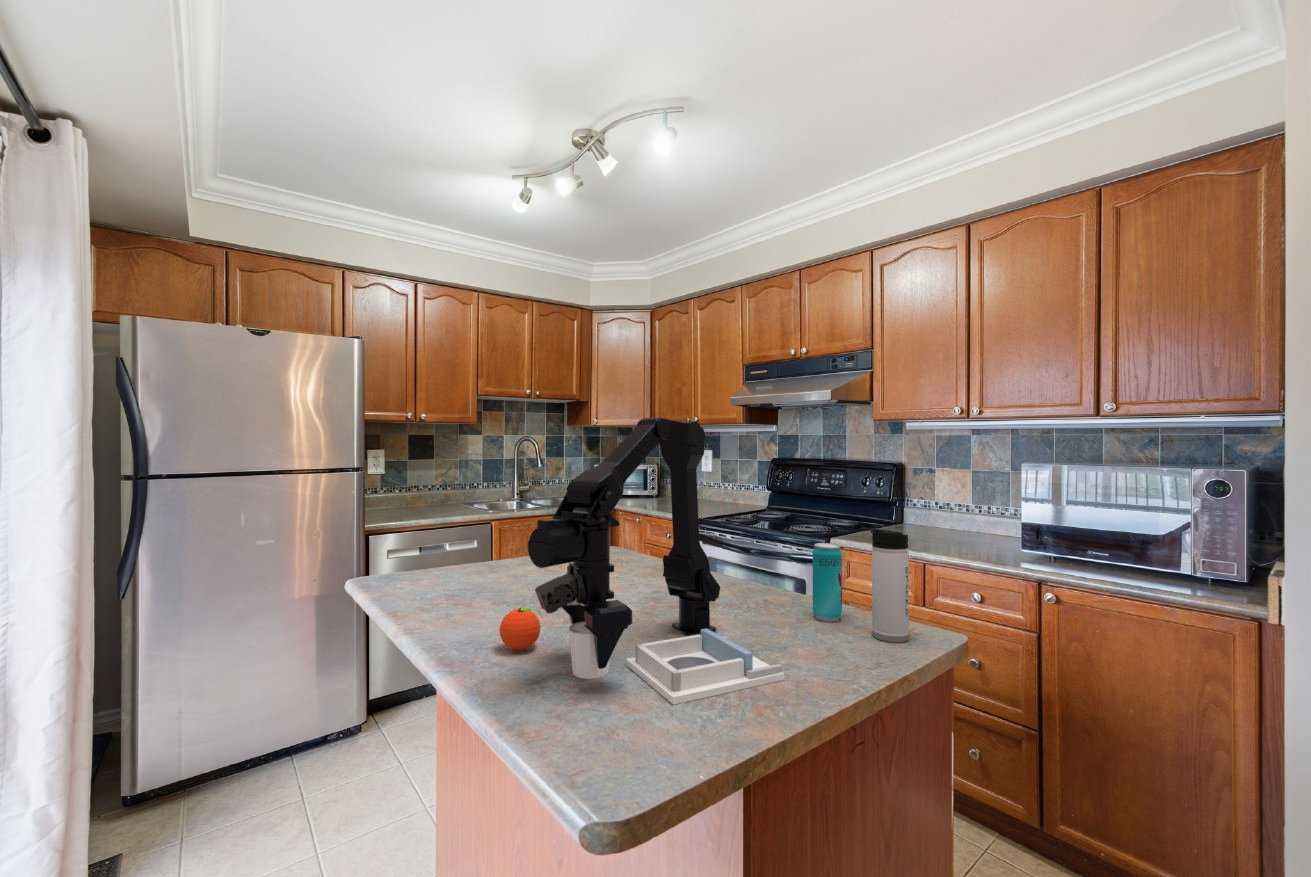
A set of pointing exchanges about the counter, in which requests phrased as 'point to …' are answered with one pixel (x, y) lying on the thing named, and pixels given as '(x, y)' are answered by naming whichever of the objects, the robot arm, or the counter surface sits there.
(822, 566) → the beverage can
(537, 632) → the clementine
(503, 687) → the counter surface
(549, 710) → the counter surface
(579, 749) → the counter surface
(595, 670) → the white cup
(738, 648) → the gate
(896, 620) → the travel mug
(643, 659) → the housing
